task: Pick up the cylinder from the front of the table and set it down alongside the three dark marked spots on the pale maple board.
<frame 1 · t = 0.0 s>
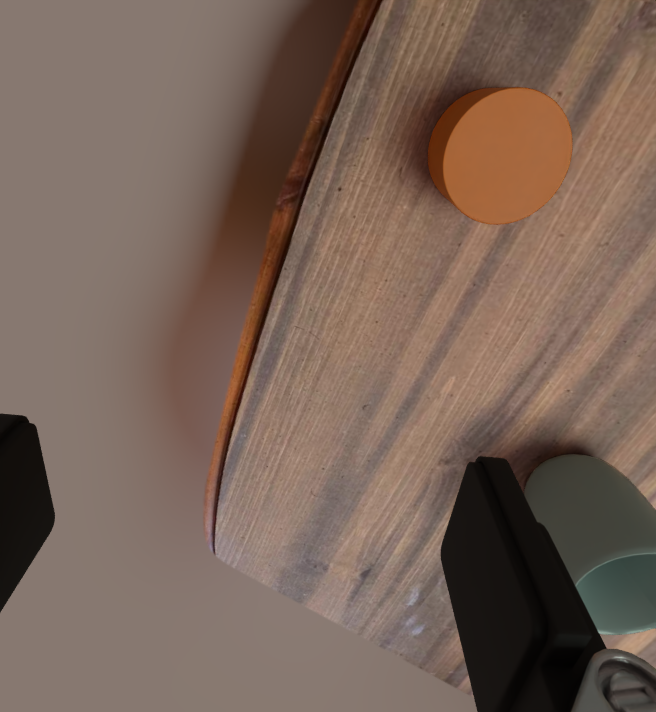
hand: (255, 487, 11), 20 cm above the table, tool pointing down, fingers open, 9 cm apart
cylinder: (483, 151, 26), on the table
cup: (560, 475, 38), on the table
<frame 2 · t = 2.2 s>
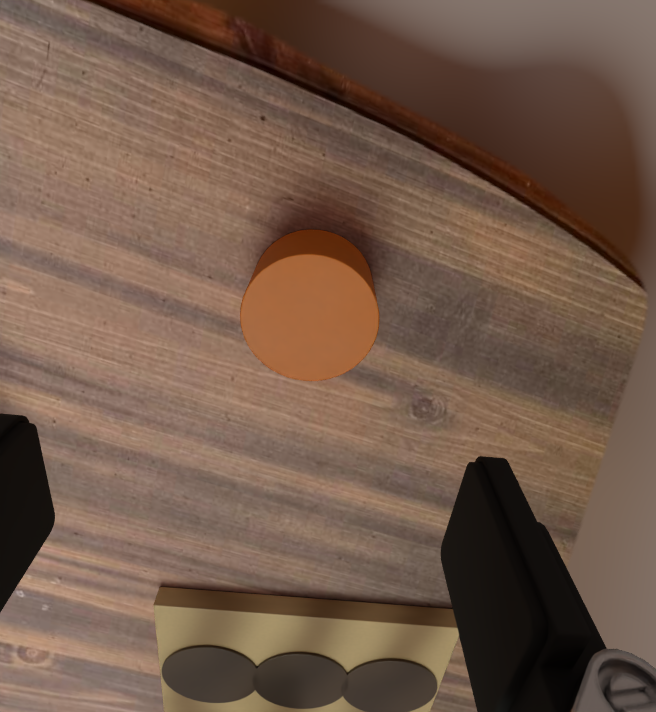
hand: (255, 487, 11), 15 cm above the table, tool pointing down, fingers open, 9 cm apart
cylinder: (313, 288, 25), on the table
board: (301, 660, 40), on the table
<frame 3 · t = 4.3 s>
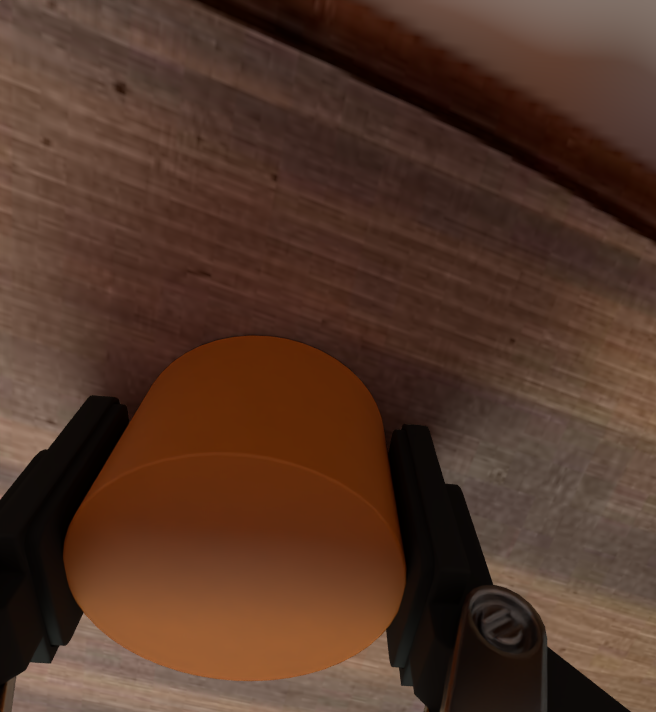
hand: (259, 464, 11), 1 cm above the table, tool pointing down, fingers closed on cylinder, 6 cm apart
cylinder: (263, 443, 12), on the table, touching gripper
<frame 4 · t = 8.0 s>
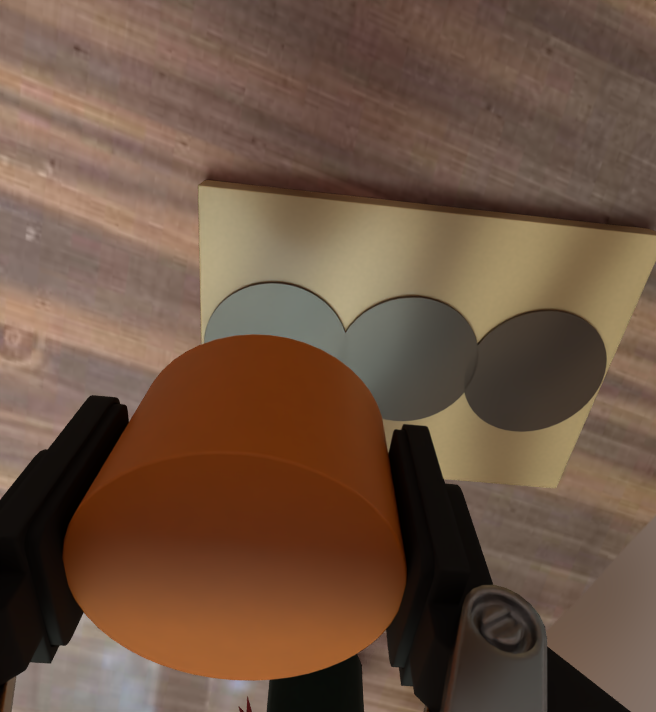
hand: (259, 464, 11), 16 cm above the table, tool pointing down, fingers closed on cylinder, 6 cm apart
cylinder: (263, 442, 12), point 15 cm above the table, touching gripper
board: (402, 348, 28), on the table
wine bottle: (304, 659, 42), on the table
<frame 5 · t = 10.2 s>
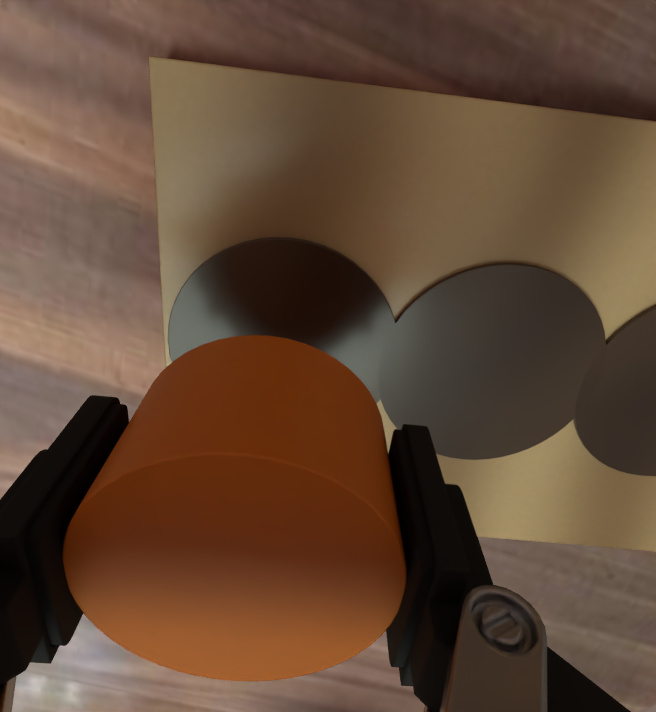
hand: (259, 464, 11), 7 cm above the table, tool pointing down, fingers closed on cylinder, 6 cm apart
cylinder: (263, 443, 12), point 6 cm above the table, touching gripper
board: (476, 349, 18), on the table
when the fingers open (2 cm above the table, at t = 11.9 s): cylinder stays where it is, resting on board.
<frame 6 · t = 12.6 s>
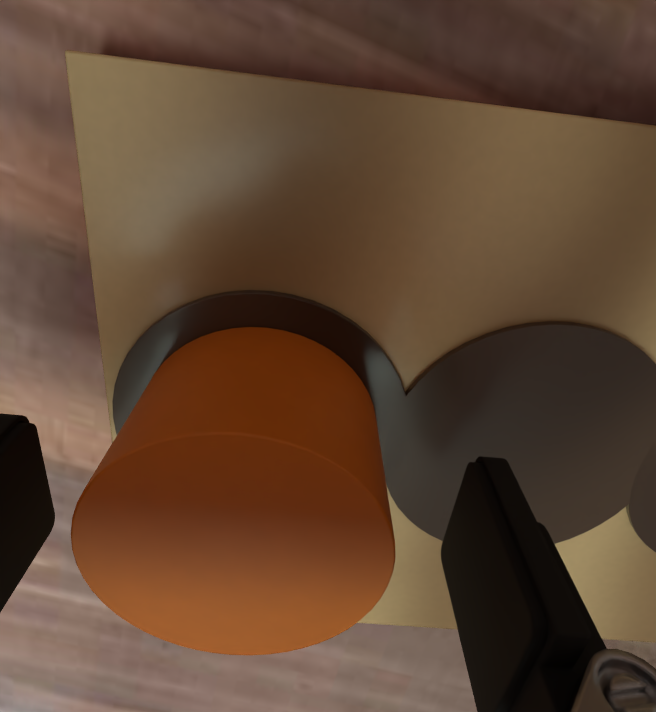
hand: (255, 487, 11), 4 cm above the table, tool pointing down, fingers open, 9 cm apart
cylinder: (260, 431, 13), point 2 cm above the table, touching board
board: (504, 416, 15), on the table
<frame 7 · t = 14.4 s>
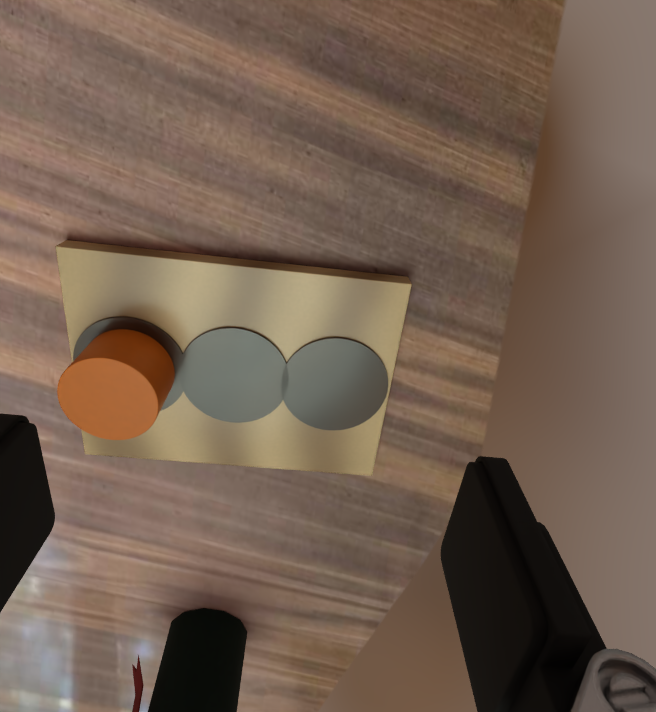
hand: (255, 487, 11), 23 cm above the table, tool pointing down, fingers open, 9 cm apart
cylinder: (130, 368, 33), point 2 cm above the table, touching board
board: (237, 365, 35), on the table
wine bottle: (198, 627, 50), on the table
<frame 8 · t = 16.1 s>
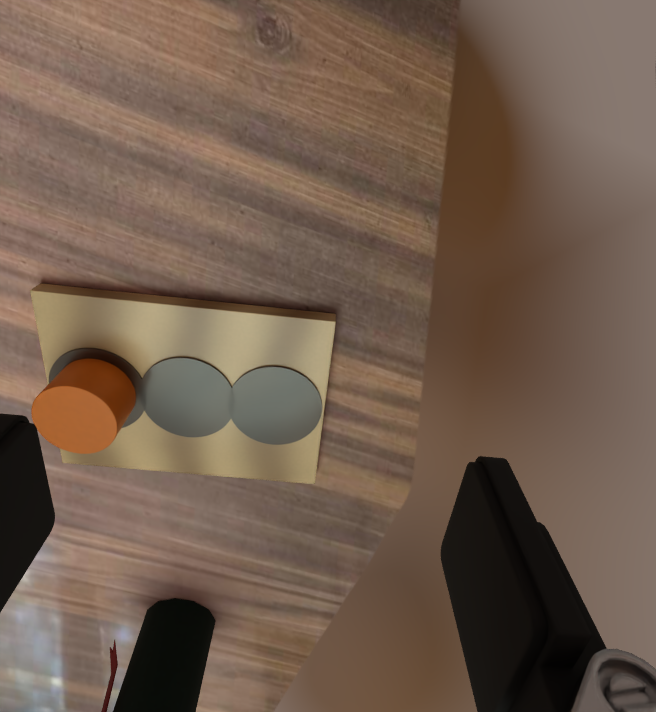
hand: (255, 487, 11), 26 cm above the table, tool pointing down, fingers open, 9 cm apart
cylinder: (97, 391, 39), point 2 cm above the table, touching board
board: (192, 388, 41), on the table
wine bottle: (171, 615, 55), on the table
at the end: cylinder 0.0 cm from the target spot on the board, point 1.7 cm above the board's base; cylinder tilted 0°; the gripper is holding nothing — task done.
